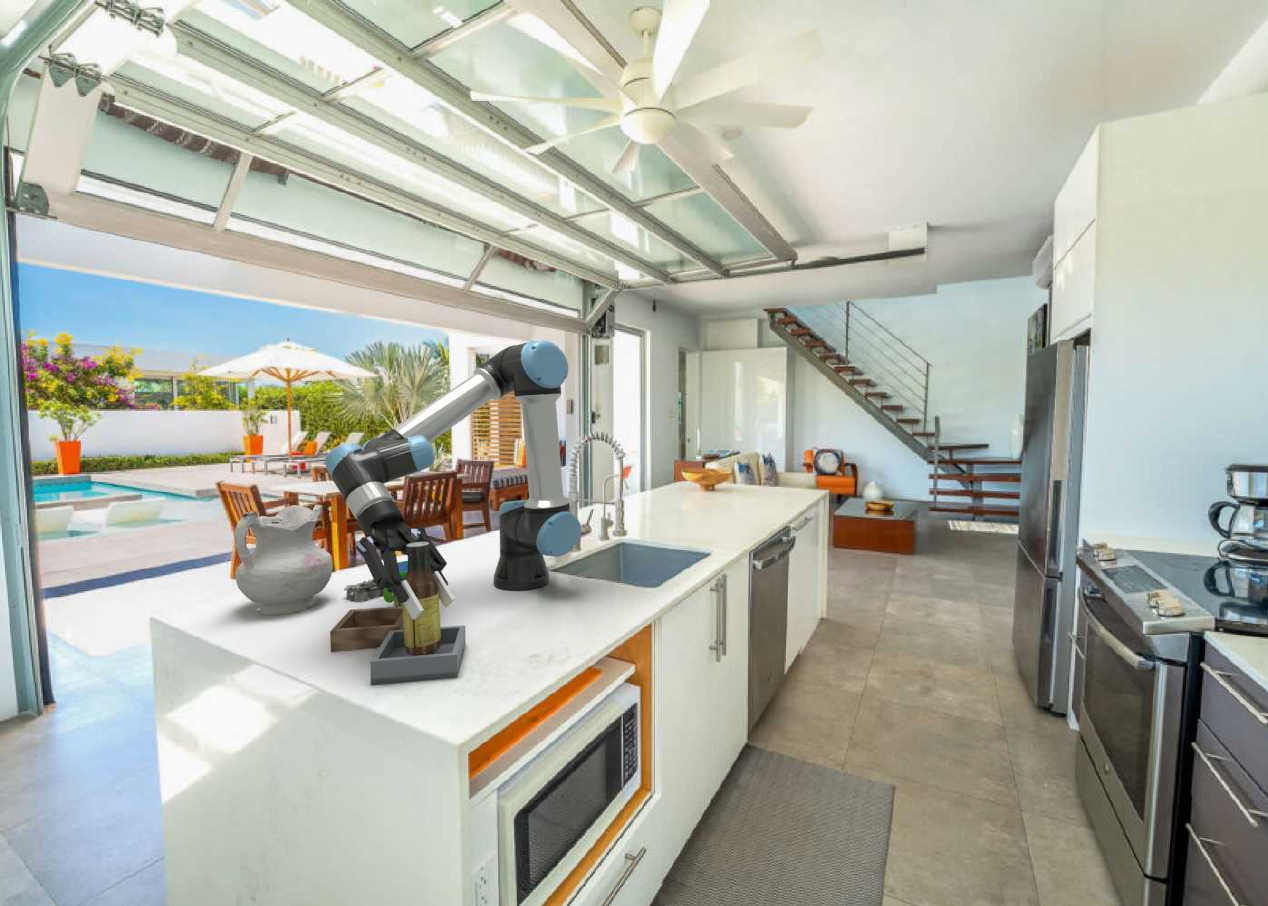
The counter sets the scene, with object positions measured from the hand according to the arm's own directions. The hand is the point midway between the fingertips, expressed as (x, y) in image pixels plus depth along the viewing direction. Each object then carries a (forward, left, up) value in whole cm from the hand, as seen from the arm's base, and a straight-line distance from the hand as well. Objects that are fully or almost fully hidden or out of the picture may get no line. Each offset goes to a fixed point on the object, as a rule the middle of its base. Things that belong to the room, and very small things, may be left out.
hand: (434, 608), depth 97 cm
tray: (+3, -2, -11) cm, 11 cm away
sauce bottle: (+3, -2, -9) cm, 9 cm away
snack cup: (+11, -35, -11) cm, 39 cm away
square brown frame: (+15, -17, -11) cm, 25 cm away
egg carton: (+23, -47, -11) cm, 53 cm away
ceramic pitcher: (+40, -40, -11) cm, 58 cm away
